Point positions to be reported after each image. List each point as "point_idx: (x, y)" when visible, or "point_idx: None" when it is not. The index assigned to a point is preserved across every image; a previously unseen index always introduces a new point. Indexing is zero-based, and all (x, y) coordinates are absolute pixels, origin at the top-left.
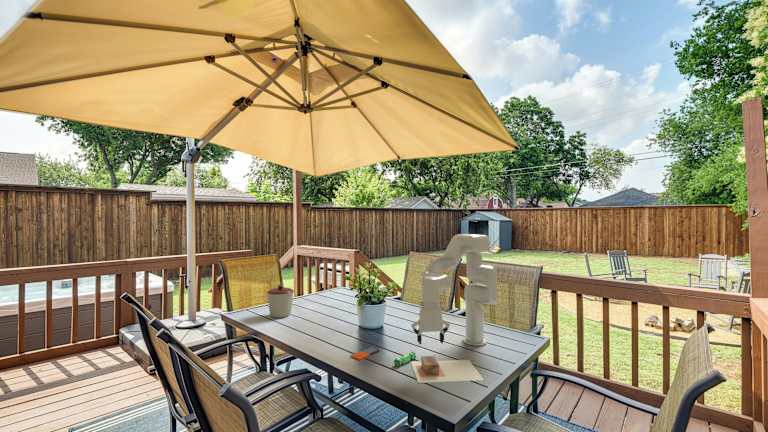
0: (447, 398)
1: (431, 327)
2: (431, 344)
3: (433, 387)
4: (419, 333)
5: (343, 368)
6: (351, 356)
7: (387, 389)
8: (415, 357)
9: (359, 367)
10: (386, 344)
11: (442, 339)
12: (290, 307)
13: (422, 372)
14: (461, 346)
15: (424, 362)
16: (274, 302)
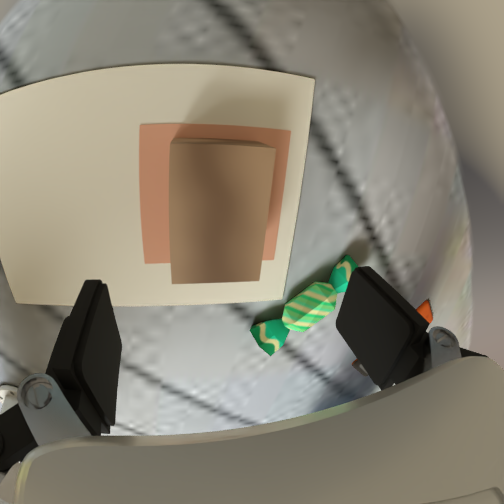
0: None
1: (400, 497)
2: (159, 414)
3: (248, 24)
4: (441, 349)
5: (468, 252)
6: (432, 317)
7: (429, 82)
8: (252, 328)
9: (444, 256)
10: (311, 401)
11: (78, 312)
12: None
13: None
14: None
15: (268, 192)
16: None
